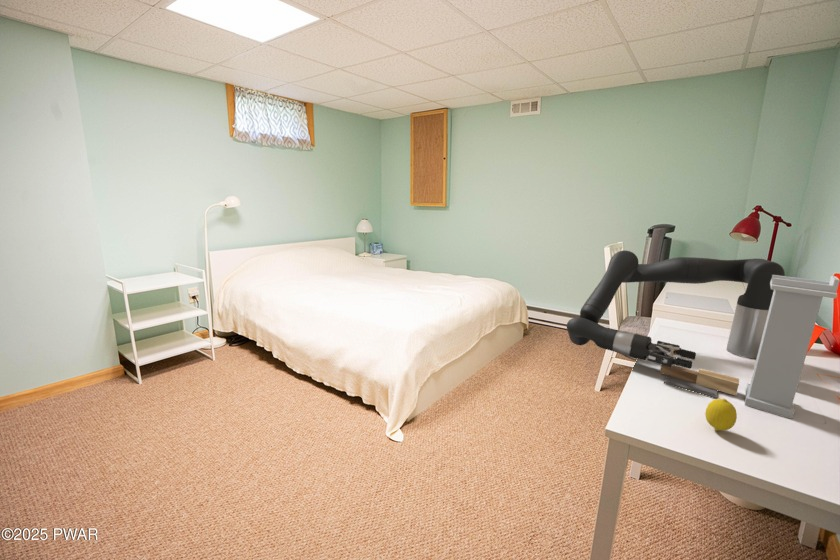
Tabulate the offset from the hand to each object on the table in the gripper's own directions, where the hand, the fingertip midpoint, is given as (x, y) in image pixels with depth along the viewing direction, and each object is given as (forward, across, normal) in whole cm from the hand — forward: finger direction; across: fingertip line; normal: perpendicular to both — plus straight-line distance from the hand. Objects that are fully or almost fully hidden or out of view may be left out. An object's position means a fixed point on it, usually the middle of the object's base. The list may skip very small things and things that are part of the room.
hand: (693, 360), depth 110 cm
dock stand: (+17, 0, -6) cm, 18 cm away
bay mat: (+1, 0, -6) cm, 7 cm away
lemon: (+8, +25, -7) cm, 27 cm away
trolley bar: (+2, 0, -6) cm, 6 cm away
